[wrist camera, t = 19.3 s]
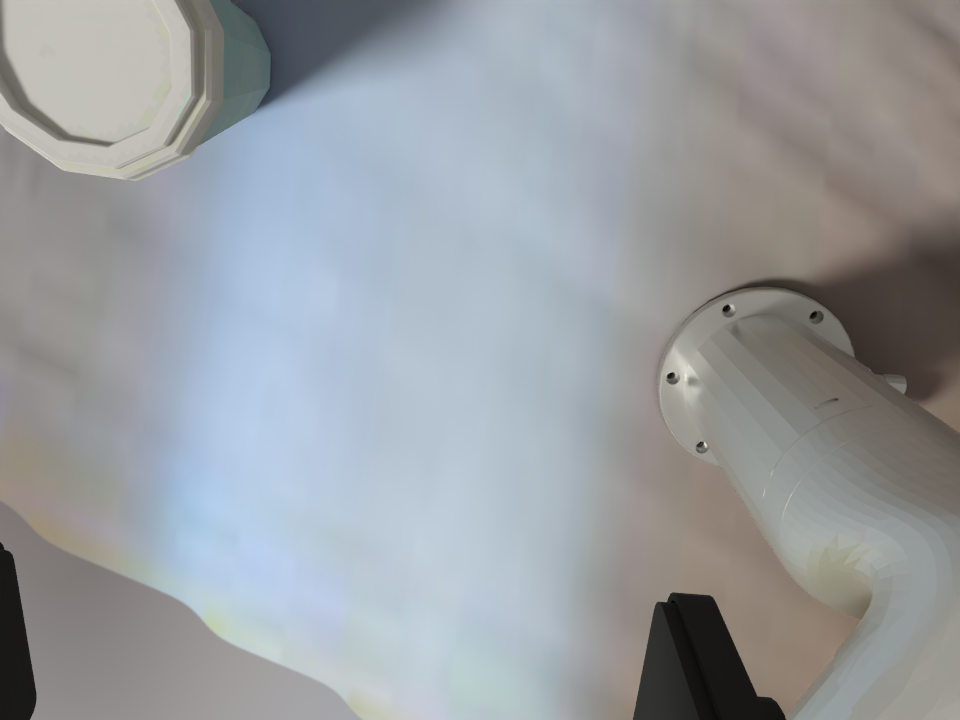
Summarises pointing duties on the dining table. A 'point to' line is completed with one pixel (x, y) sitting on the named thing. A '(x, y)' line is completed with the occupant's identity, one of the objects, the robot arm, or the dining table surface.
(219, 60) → the disposable coffee cup
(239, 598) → the dining table surface
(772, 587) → the dining table surface
